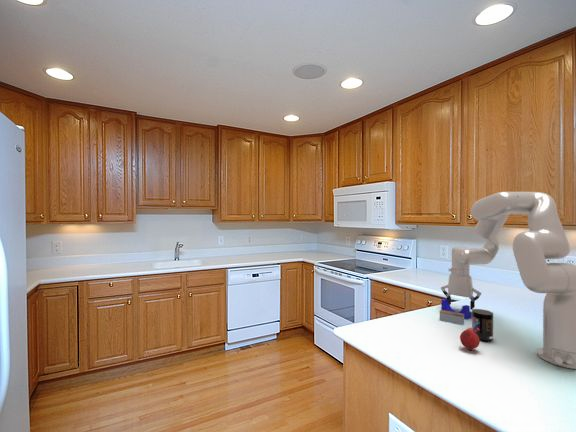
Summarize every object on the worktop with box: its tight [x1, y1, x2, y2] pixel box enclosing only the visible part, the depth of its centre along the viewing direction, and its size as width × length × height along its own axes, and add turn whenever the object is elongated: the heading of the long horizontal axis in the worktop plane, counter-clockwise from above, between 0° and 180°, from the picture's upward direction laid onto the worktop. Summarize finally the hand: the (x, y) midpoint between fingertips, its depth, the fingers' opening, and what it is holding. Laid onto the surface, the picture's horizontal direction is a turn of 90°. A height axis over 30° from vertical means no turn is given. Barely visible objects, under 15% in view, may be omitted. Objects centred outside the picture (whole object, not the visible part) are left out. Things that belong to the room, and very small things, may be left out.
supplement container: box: [471, 308, 494, 343], centre depth 109 cm, size 7×7×10 cm
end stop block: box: [439, 309, 465, 326], centre depth 127 cm, size 3×9×4 cm, turn 49°
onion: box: [459, 326, 481, 351], centre depth 100 cm, size 6×6×8 cm
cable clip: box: [440, 298, 472, 321], centre depth 136 cm, size 12×4×6 cm, turn 25°
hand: (460, 306), depth 141 cm, fingers open, 9 cm apart
